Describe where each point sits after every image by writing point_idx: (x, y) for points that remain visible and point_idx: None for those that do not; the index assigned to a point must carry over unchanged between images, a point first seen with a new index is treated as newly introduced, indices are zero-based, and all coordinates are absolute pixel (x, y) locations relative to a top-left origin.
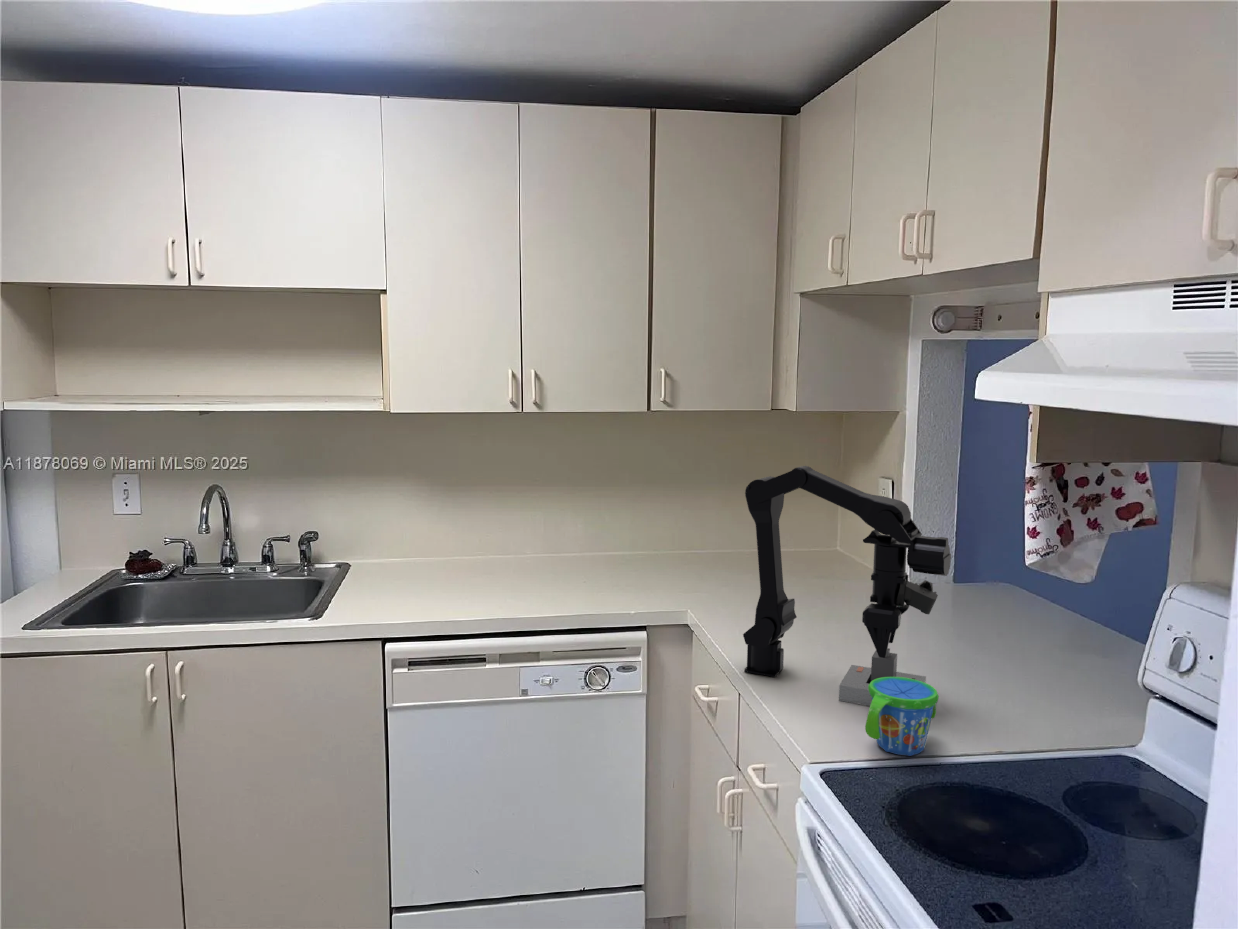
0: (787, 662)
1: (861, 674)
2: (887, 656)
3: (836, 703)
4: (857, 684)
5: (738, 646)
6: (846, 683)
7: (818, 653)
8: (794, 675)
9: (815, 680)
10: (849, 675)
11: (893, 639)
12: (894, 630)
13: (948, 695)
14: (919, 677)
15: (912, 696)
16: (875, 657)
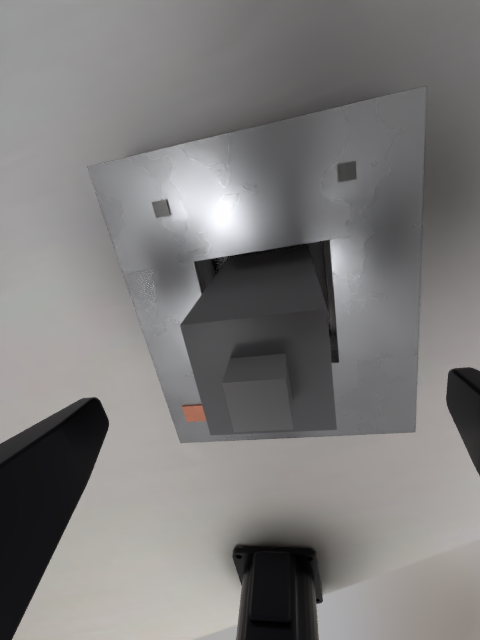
0: (190, 544)
1: None
2: (285, 361)
3: (422, 393)
4: (373, 384)
5: (172, 621)
6: (383, 417)
7: (78, 506)
8: (265, 518)
9: (266, 475)
10: None
11: (71, 408)
12: (19, 462)
13: (89, 61)
14: (122, 190)
15: None
16: (335, 413)
